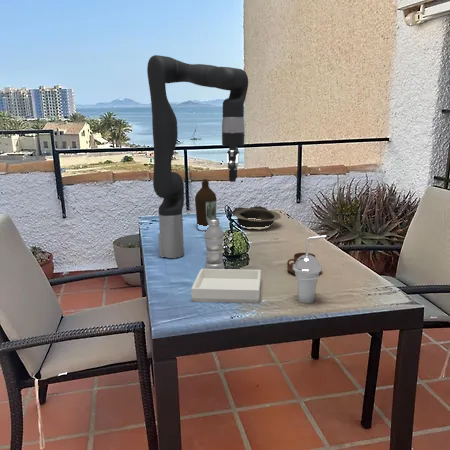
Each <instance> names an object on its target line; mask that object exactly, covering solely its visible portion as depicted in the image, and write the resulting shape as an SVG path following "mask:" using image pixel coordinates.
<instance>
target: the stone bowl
mask: <svg viewBox="0 0 450 450" xmlns="http://www.w3.org/2000/svg"><path fill="white" fill-rule="evenodd" d="M231 215H233V216H234V217H236V218H237V220H236V221H237V223H238V224H239V226H240V225H242V226H245V227H265V226H269V225H271V224H272V225H273V224H274V222H275V221H277V220H279V219H281V218H282V217H281V215H280V213H278V212H277V211H273V210H269V209H268V208H267V207H264V206H261V205H260V206H259V205H255V206H254V207H253V206H252V207H242V206H241V207H240V206H239V207H234V209H233V210H232V211H231ZM248 218H256V219H261V220H256V219H255V220H254V219H248ZM272 225H271V226H272Z"/></svg>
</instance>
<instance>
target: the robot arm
mask: <svg viewBox="0 0 450 450" xmlns="http://www.w3.org/2000/svg"><path fill="white" fill-rule="evenodd" d="M146 70H147V71H146V72H147V73H146V74H147V79H148V87H149V88H148V89H149V95H150V104H151V106H150V107H151V116H152V117H151V118H152V119H151V122H152V125H151V126H152V141H153V142H152V143H153V175H152V176H153V177H152V185H153V191H154V193H155V194H156V196H157V197H159V198H161V199H163V200H162V202H161V204H160V205H159V206H158V225H159V227H158V228H159V233H158V235H157V236H158V250H159V252H158V253H159V254H158V255H159V257H160V256H163V257H168V258H174V259H177V258H176V257H180V258H182V257H184V256H185V245H184V225H183V209H184V203H185V184H184V183H185V182H184V180H183V177H182V176H181V175H180V174H179V173H178V172H175V171H172V159H173V155H174V152H175V149H176V146H177V143H178V135H179V134H178V119H177V116H176V114H175V112H174V109H173V108H172V106H171V103H170V102H169V99H168V96H167V90H166V89H167V88H166V84H173V83H174V84H175V83H184V82H185V83H190V84H194V85H196V86H200V87H206V88H216V89H218V90H223V91H229V95H228V96H229V97H228V98H225V99H224V100H223V102H222V122H221V144H222V146H223V147H229V148H228V150H227V152H226V157H227V169H228V182H231V183H232V182H233V183H235V182H236V181H237V178H238V167H239V163H240V161H239V160H240V158H239V157H240V150H239V148H238V147H244V146H245V128H246V127H245V107H244V105H245V101H246V96H247V94H248V93H247V92H248V88H249V77H248V74H247V73H246V71H245V70H244V69H241V68H237V67H230V66H217V65H211V64H205V63H202V64H201V63H193V64H192V63H187V62H184V61H181V60H178V59H176V58H173V57H171V56H165V55H157V54H155V55H154V54H153V55H152V56H150V58H149V59H148V62H147V69H146ZM183 255H184V256H183ZM181 256H182V257H181Z"/></svg>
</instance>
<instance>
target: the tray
mask: <svg viewBox="0 0 450 450" xmlns="http://www.w3.org/2000/svg"><path fill="white" fill-rule="evenodd" d="M261 273H262V270H261V269H241V268H239V269H238V268H237V269H235V268H233V269H231V268H230V269H229V268H228V269H226V268H224V269H205V268H200V270H199V272H198V274H197V276H196V278H195V280H194V282H193V284H192V286H191V289H190V292H191V293H190V294H191V302H195V303H196V302H197V303H199V302H201V303H205V302H207V303H238V304H239V303H240V304H242V303H243V304H244V303H245V304H260V299H261V298H260V297H261V285H262V284H261V282H262V281H261V280H262V279H261V278H262V275H261Z"/></svg>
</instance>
